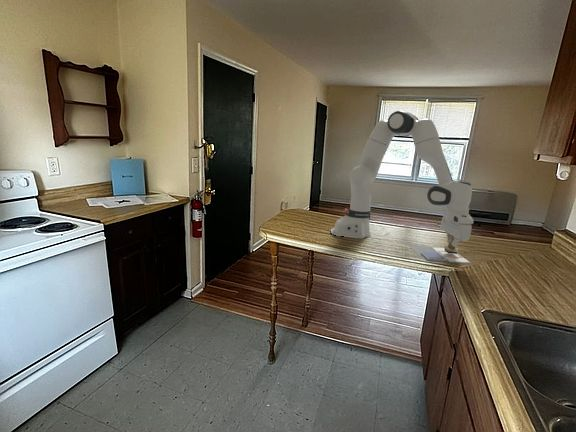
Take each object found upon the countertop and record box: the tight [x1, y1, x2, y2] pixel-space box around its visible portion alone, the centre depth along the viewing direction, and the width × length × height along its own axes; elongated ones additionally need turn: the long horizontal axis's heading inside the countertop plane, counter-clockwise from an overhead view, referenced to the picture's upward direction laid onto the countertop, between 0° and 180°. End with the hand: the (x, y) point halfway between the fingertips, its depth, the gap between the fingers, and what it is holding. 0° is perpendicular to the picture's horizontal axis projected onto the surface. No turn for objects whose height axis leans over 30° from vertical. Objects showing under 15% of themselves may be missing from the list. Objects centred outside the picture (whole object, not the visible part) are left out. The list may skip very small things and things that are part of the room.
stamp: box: [443, 235, 459, 254], centre depth 146 cm, size 4×4×8 cm
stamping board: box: [409, 245, 473, 264], centre depth 147 cm, size 20×20×2 cm
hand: (451, 244), depth 146 cm, fingers closed on stamp, 3 cm apart
